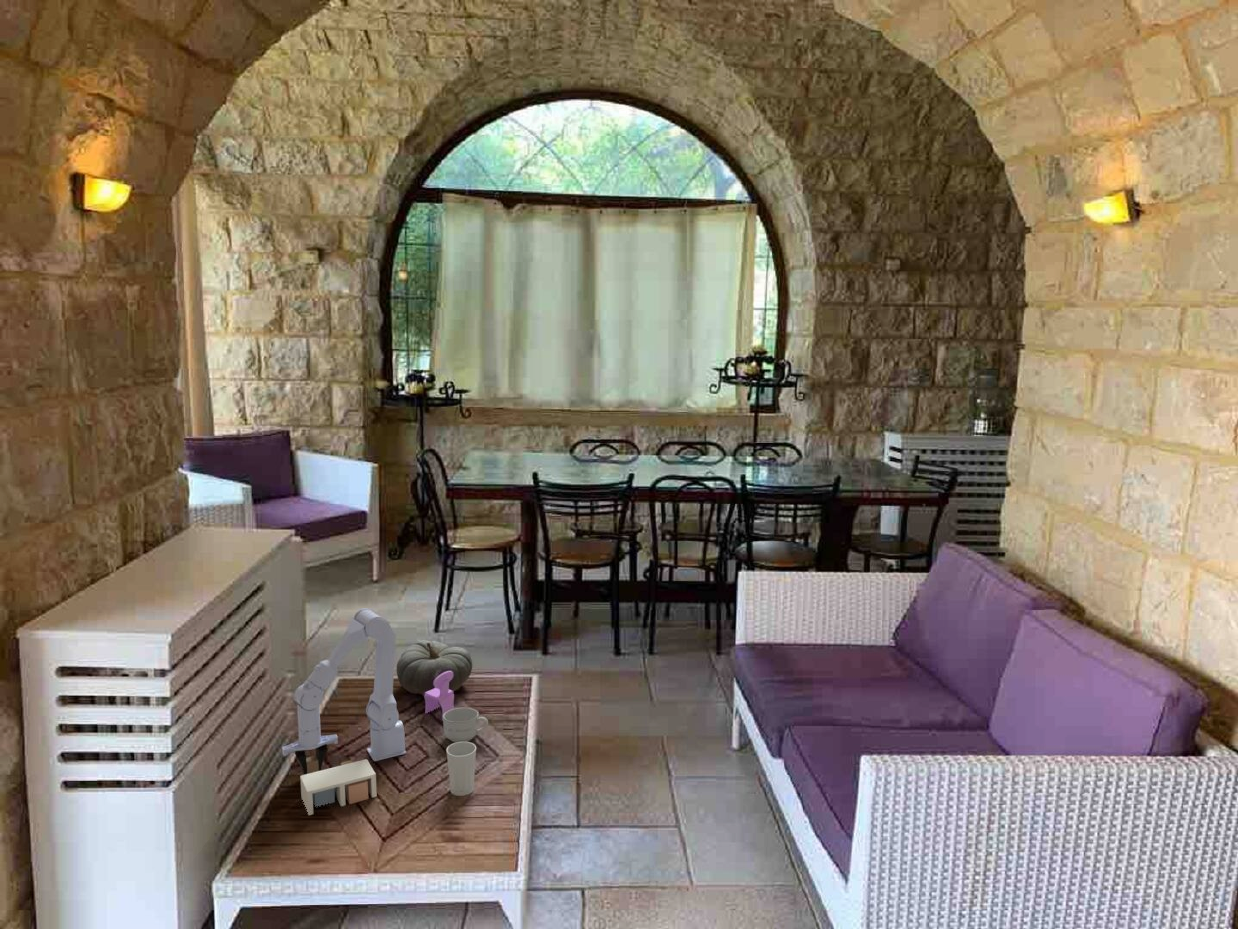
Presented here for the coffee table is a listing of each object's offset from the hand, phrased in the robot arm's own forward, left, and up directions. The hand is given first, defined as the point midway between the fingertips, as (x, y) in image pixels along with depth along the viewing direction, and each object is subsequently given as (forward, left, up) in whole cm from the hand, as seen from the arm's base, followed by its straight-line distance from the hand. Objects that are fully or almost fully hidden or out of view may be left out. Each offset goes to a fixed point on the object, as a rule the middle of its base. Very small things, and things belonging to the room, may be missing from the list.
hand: (311, 772), depth 240 cm
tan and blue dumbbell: (0, +7, -1) cm, 7 cm away
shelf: (-4, +14, -1) cm, 15 cm away
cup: (-34, +27, -2) cm, 43 cm away
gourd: (-49, -38, -2) cm, 62 cm away
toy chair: (-44, -19, -2) cm, 48 cm away
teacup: (-45, +1, -2) cm, 45 cm away
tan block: (-8, +12, -1) cm, 15 cm away
